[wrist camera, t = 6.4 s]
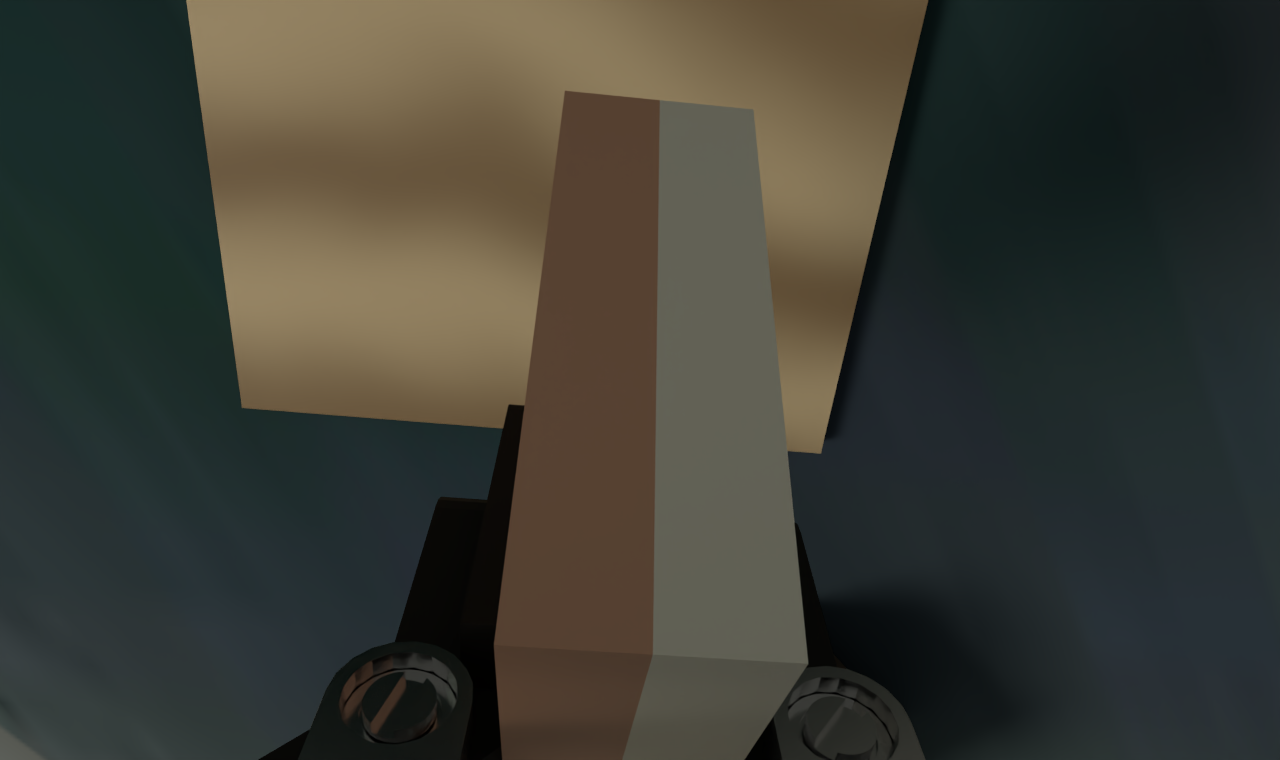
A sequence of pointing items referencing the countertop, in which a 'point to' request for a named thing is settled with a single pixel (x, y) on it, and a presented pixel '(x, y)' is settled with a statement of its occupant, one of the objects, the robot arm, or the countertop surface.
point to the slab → (650, 453)
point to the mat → (512, 179)
